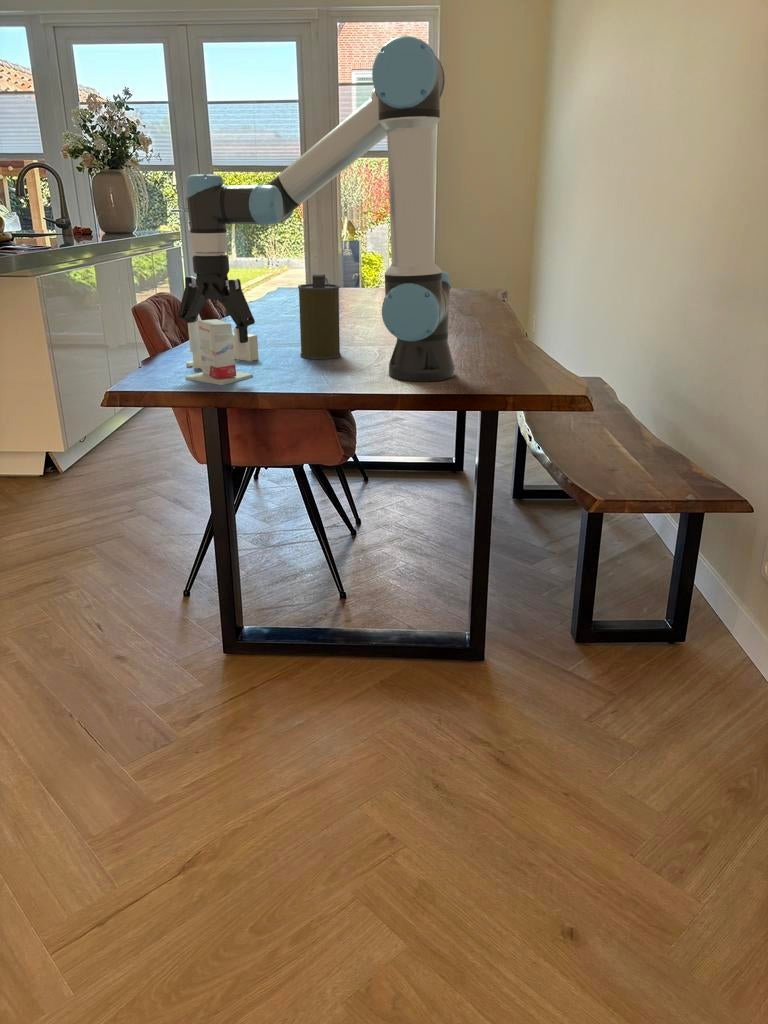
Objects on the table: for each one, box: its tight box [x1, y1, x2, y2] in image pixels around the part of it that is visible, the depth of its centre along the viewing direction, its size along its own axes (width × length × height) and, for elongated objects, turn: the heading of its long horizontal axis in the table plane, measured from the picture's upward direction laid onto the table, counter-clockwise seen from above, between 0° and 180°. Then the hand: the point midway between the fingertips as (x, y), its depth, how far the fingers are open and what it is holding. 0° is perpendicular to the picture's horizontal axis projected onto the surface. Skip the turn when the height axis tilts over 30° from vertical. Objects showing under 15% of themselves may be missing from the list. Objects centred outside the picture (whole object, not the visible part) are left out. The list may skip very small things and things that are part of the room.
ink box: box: [197, 318, 237, 379], centre depth 169 cm, size 9×5×12 cm, turn 34°
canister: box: [297, 273, 342, 360], centre depth 193 cm, size 11×10×20 cm
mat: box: [185, 371, 254, 386], centre depth 172 cm, size 11×10×1 cm
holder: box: [185, 333, 259, 370], centre depth 186 cm, size 8×16×6 cm, turn 149°
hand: (218, 354), depth 170 cm, fingers open, 13 cm apart
